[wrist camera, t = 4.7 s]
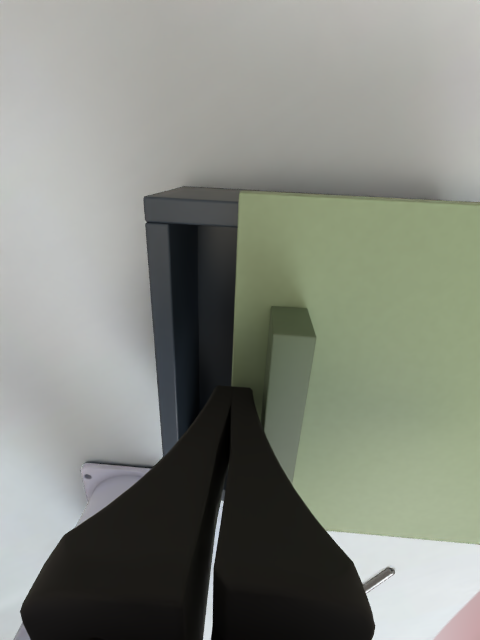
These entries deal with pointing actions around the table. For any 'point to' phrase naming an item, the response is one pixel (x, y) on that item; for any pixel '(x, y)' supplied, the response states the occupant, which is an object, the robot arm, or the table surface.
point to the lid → (365, 356)
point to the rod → (378, 579)
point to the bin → (191, 298)
